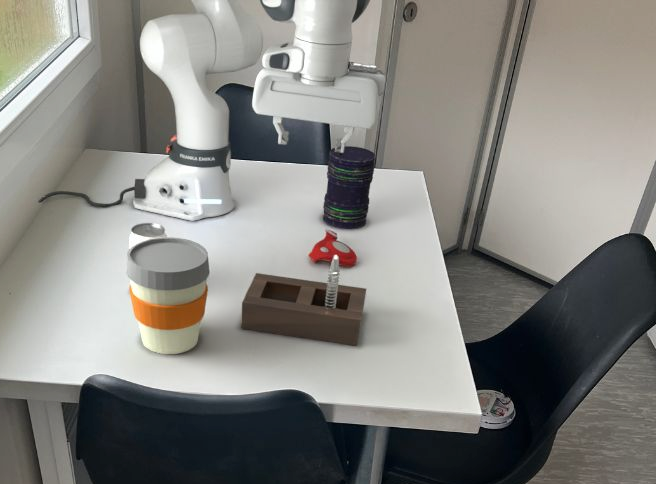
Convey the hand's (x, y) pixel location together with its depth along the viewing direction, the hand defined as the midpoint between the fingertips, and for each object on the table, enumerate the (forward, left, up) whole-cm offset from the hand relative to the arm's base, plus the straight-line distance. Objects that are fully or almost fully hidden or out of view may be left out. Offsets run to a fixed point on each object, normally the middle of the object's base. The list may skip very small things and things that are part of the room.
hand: (311, 147), depth 120 cm
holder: (+3, -12, -26) cm, 29 cm away
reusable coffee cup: (-17, -24, -26) cm, 39 cm away
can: (-25, -10, -26) cm, 38 cm away
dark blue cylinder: (+5, +34, -26) cm, 43 cm away
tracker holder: (+5, +15, -26) cm, 30 cm away
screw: (+7, -12, -26) cm, 30 cm away
